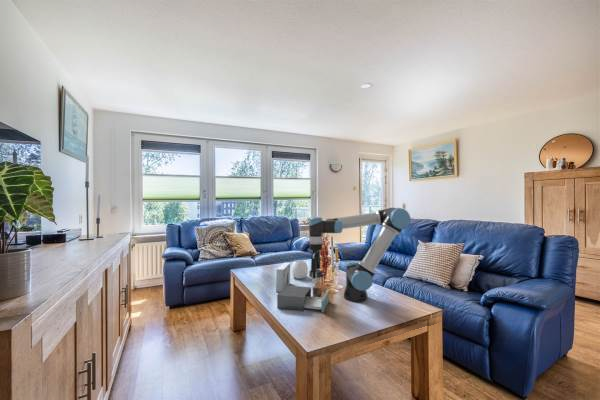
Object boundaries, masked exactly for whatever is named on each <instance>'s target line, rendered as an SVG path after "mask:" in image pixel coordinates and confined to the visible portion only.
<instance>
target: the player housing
mask: <svg viewBox="0 0 600 400" xmlns="http://www.w3.org/2000/svg"><path fill="white" fill-rule="evenodd" d="M305 296H310V297H312V287H311V286H300V285H298V286H297V285H287V286H286V287H285V288H284V289H283V290H282V291H281V292H278V293H277V295H276V301H277V303H276V305H277V306H276V307H277V309H279V310H285V311H286V310H288V311H295V312H296V311H298V312H305V310H306V309H307V308H304V298H305Z"/></svg>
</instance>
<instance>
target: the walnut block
mask: <svg viewBox="0 0 600 400" xmlns="http://www.w3.org/2000/svg"><path fill="white" fill-rule="evenodd" d="M313 285H314V286H312V297H321V298H322V285H316V284H313Z"/></svg>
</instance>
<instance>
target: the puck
mask: <svg viewBox="0 0 600 400" xmlns="http://www.w3.org/2000/svg"><path fill="white" fill-rule="evenodd" d="M308 272H309V273H308V276H309V277H311V278H312V273H311V270H309V271H308ZM316 272H317V278H319V277H320V278H321V277H323V271H322V270H316Z"/></svg>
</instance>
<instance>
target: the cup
mask: <svg viewBox="0 0 600 400" xmlns="http://www.w3.org/2000/svg"><path fill="white" fill-rule="evenodd" d="M308 270H309V269H308V264H307V262H306V261H305V260H300V259H298V260H294V261H293V264H292V266H291V276H292V277H293V278H295V279H297V280H303V279H305V278H307V276H308V275H309V273H308V272H309V271H308Z"/></svg>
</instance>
